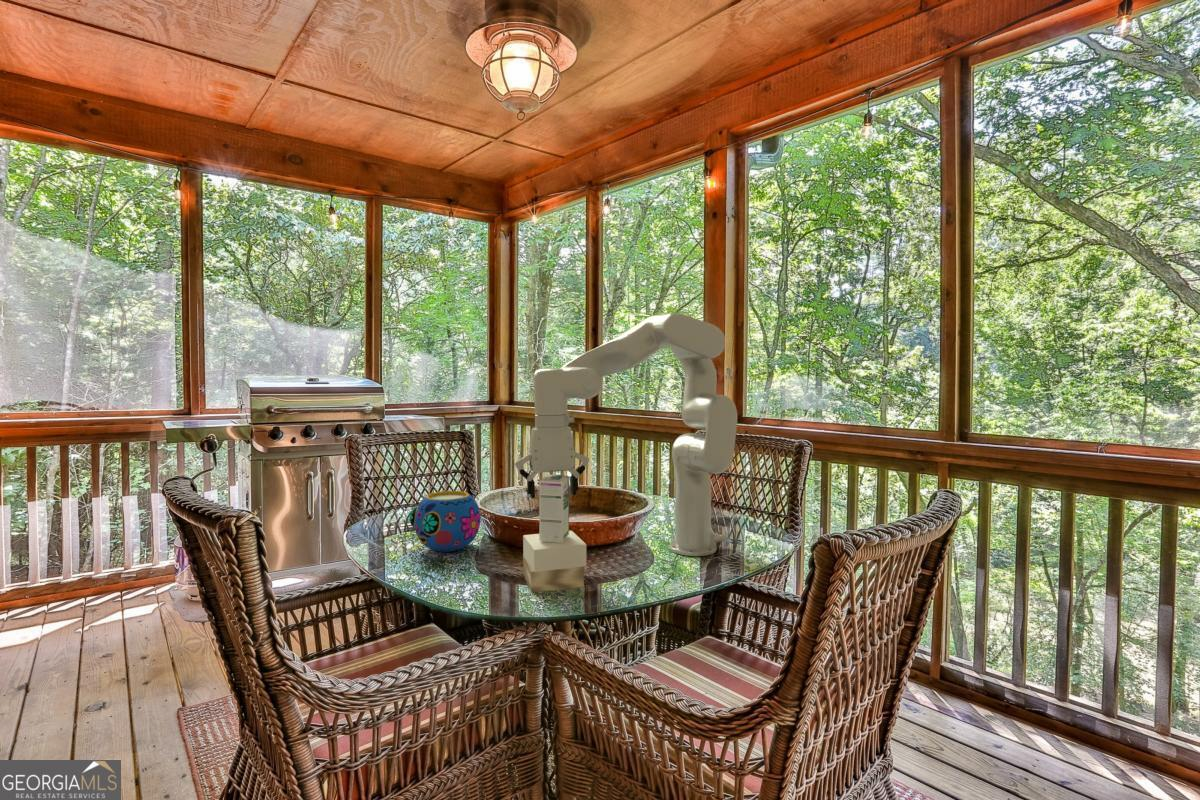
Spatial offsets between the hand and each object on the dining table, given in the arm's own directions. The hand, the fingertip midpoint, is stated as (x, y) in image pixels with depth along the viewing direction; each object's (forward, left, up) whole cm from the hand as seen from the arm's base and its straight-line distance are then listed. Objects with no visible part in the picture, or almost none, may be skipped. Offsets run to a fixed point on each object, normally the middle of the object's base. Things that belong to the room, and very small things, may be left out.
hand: (553, 495), depth 137 cm
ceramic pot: (+23, -31, -20) cm, 44 cm away
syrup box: (0, 0, -10) cm, 10 cm away
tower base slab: (0, 0, -20) cm, 20 cm away
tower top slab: (0, +1, -15) cm, 15 cm away
